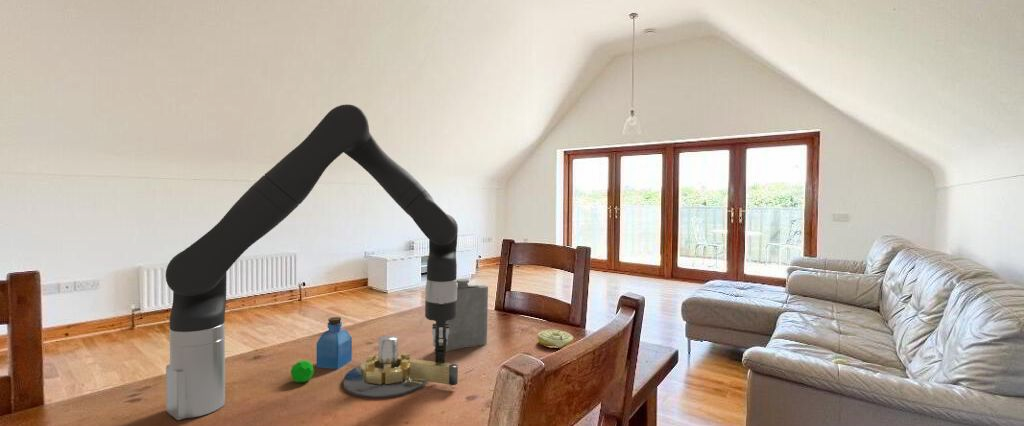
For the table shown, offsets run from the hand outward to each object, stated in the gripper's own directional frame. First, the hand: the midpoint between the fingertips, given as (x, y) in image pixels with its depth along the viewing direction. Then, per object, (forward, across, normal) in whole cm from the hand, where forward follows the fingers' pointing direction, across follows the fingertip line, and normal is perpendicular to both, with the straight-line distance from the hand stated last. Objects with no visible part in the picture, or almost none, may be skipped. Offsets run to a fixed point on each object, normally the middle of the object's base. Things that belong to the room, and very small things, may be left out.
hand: (439, 368), depth 107 cm
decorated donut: (+4, -23, +35) cm, 42 cm away
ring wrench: (+2, 0, -7) cm, 7 cm away
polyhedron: (+4, -4, -32) cm, 33 cm away
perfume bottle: (+4, -14, -27) cm, 31 cm away
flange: (+3, -2, -12) cm, 13 cm away
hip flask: (+4, -24, +7) cm, 26 cm away
